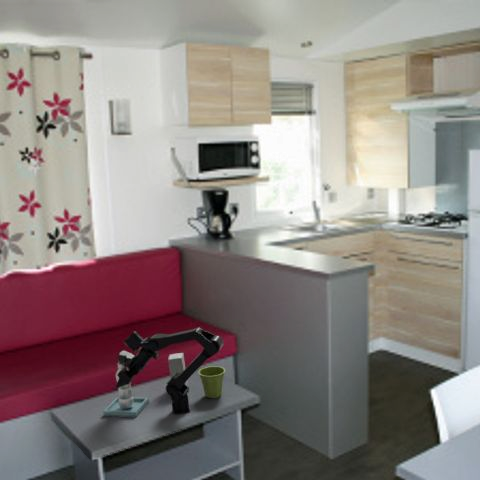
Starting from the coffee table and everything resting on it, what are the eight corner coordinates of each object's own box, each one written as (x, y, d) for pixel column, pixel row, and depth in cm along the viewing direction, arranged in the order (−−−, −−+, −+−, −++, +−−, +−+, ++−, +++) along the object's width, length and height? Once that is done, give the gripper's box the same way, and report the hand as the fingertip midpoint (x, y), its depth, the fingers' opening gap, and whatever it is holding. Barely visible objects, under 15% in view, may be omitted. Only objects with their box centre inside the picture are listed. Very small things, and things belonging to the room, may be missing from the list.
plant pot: (210, 403, 285) (208, 378, 283) (195, 395, 294) (192, 371, 292) (232, 394, 292) (230, 370, 290) (216, 387, 301) (214, 364, 299)
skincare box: (186, 391, 299) (183, 358, 296) (170, 393, 299) (167, 359, 297) (188, 384, 307) (185, 351, 305) (172, 385, 308) (169, 353, 305)
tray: (148, 402, 291) (148, 397, 290) (136, 417, 277) (135, 412, 276) (117, 401, 294) (117, 397, 294) (103, 416, 280) (103, 411, 280)
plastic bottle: (124, 412, 280) (119, 366, 277) (116, 407, 286) (111, 363, 282) (137, 407, 284) (132, 362, 281) (129, 403, 290) (124, 359, 286)
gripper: (136, 338, 288) (115, 362, 293) (119, 353, 271) (97, 378, 275) (155, 355, 288) (134, 379, 292) (139, 371, 270) (117, 396, 274)
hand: (120, 383), depth 284 cm, fingers open, 9 cm apart
